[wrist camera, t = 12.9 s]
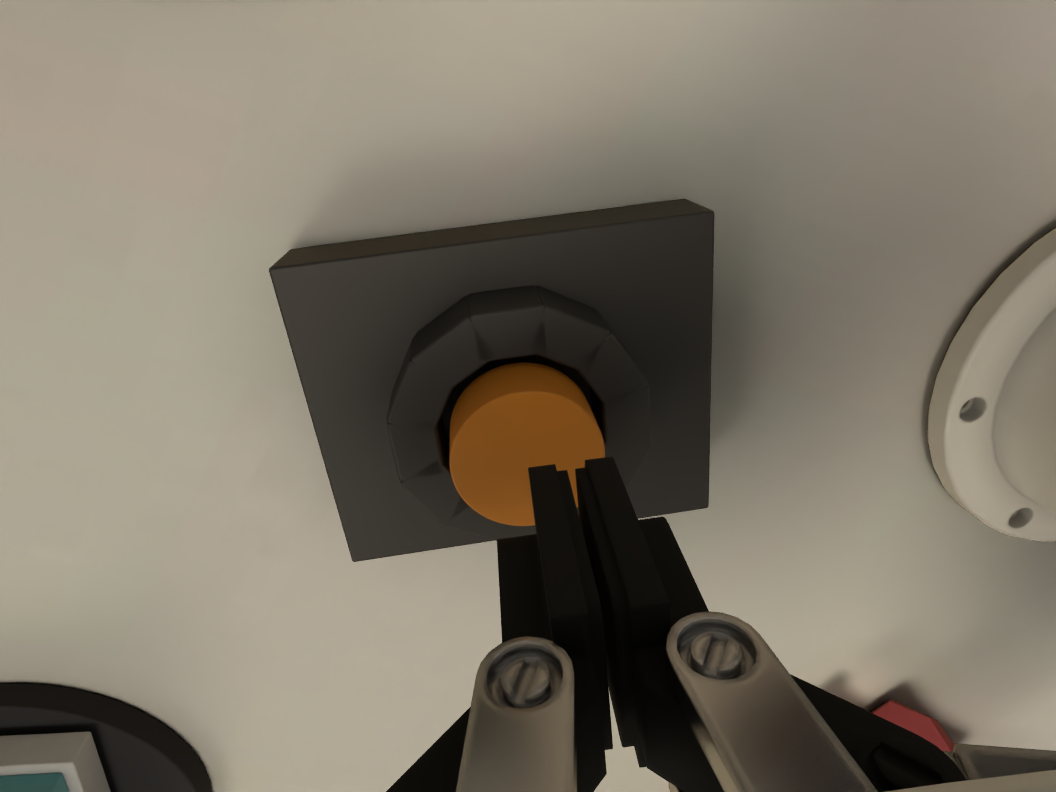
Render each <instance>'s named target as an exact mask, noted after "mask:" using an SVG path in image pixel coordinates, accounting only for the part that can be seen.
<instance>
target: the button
mask: <svg viewBox="0 0 1056 792" xmlns="http://www.w3.org/2000/svg"><path fill="white" fill-rule="evenodd" d="M604 457H605V446H604V440H603V437H602V434H601V431H600V429H599V427H598V424H597V422H596V420H595V418H594V415H593V413H592V411H591V408H590V406H589V404H588V402H587V400H586V397H585V395H584V394H583V392H582V391H581V389H580V388H579V387H578V385H577V384H576V383H575V382H574V381H573V380H572V379H570V378H569V377H568V376H567V375H565V374H563V373H562V372H560V371H558V370H556V369H554V368H552V367H549V366H546V365H542V364H537V363H526V362H521V363H511V364H506V365H502V366H499V367H496V368H494V369H491V370H489V371H487V372H485V373H484V374H482V375H481V376H479V377H477V378H476V379H475V380H474V381H473V382H471V383H470V384H469V385H468V386H467V388H466V389H465V390H464V391H463V392H462V394H461V395H460V397H459V398H458V400H457V402H456V404H455V406H454V409H453V412H452V416H451V421H450V459H449V465H450V473H451V477H452V481H453V483H454V485H455V488H456V490H457V491H458V493H459V495H460V496H461V498H462V499H463V500H464V501H465V502H466V503H467V504H468V505H469V506H470V507H471V508H472V509H473V510H474V511H476V512H477V513H479V514H480V515H482V516H484V517H486V518H488V519H490V520H493V521H495V522H498V523H502V524H506V525H514V526H532V525H535V520H534V512H533V504H532V496H531V489H530V481H529V472H528V468H529V467H536V466H544V465H551V464H555V465H556V469H557V471H562V470H567V472H568V475H569V479H570V483H571V487H572V491H573V495H574V499H575V503H576V507H578V499H577V487H576V476H575V469H577V468H584V467H585V460H589V459H596V458H604Z"/></svg>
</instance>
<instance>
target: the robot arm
mask: <svg viewBox="0 0 1056 792" xmlns="http://www.w3.org/2000/svg"><path fill="white" fill-rule="evenodd" d="M928 443H929V448H930V453H931V458H932V463H933V467H934V469H935V471H936V473H937V475H938V477H939V479H940V481H941V483H942V485H943V487H944V488H945V489H946V490H947V492H948V493H949V494H950V495H951V496H952V497H953V498H954V499H955V500H956V501H957V502H958V503H959V505H960V506H962V507H963V508H964V509H966V510H967V511H968V512H970V513H971V514H972V515H974V516H975V517H976V518H978V519H979V520H980V521H982V522H983V523H984V524H985V525H987V526H988V527H990V528H993V529H995V530H997V531H999V532H1001V533H1003V534H1005V535H1008V536H1013V537H1018V538H1023V539H1028V540H1033V541H1056V228H1055V229H1053V230H1052V231H1051V232H1049V233H1048V234H1046V235H1045V236H1043V237H1042V238H1041V239H1039V240H1038V241H1036V242H1035V243H1034V244H1033V245H1031V246H1030V247H1029V248H1028V249H1027V250H1026V251H1025V252H1024V253H1023V254H1022V255H1021V256H1020V257H1018V258H1017V259H1016V260H1015V261H1014V262H1013V263H1012V264H1011V265H1010V266H1009V267H1008V268H1006V269H1005V270H1004V271H1003V272H1002V273H1001V274H1000V275H999V277H998V278H997V279H996V280H995V281H994V283H993V284H992V285H991V286H990V287H989V289H988V290H987V291H986V292H985V293H984V295H983V296H982V297H981V298H980V299H979V301H978V302H977V303H976V304H975V305H974V307H973V308H972V310H971V311H970V313H969V314H968V316H967V318H966V319H965V321H964V322H963V324H962V326H961V327H960V329H959V330H958V332H957V334H956V335H955V337H954V338H953V340H952V342H951V344H950V346H949V349H948V351H947V353H946V356H945V358H944V360H943V363H942V365H941V367H940V370H939V372H938V374H937V377H936V381H935V385H934V389H933V393H932V398H931V402H930V406H929V416H928ZM528 472H529V481H530V489H531V496H532V504H533V512H534V520H535V528H536V534H532V535H525V536H517V537H510V538H503V539H498V540H497V548H498V568H499V587H500V607H501V626H502V643H501V644H500V645H498V646H497V647H495V648H494V649H493V650H491V651H490V652H489V653H488V654H487V656H486V657H485V658H484V659H483V661H482V662H481V664H480V666H479V669H478V672H477V675H476V680H475V685H474V691H473V697H472V702H471V707H470V708H469V709H468V710H467V711H466V712H465V713H464V714H463V715H462V716H461V717H460V718H459V719H458V720H457V721H456V722H455V723H454V724H453V725H452V726H451V727H450V728H449V729H448V730H447V731H446V732H445V733H444V734H443V735H442V736H441V737H440V738H439V739H438V740H437V741H436V742H435V743H434V744H433V745H432V746H431V747H430V748H429V749H428V750H427V751H426V752H425V753H424V754H423V755H422V756H421V757H420V758H419V759H418V760H417V761H416V762H415V763H414V764H413V765H412V766H411V767H410V768H409V769H408V770H407V771H406V772H405V773H404V774H403V775H402V776H401V777H400V778H399V779H398V780H397V781H396V782H395V783H394V784H393V785H392V786H391V787H390V788H389V789H388V790H387V791H386V792H594V790H595V789H596V787H597V786H598V785H599V783H600V782H601V781H602V779H603V778H604V776H605V775H606V774H607V773H606V761H605V750H608V749H613V743H612V730H611V717H610V703H609V692H610V696H611V700H612V705H613V709H614V714H615V718H616V722H617V727H618V731H619V735H620V740H621V743H622V746H623V747H629V746H634V747H635V751H636V755H637V759H638V763H639V767H647V768H648V769H650V770H651V771H653V772H654V773H656V774H657V775H659V776H660V777H662V778H663V779H665V780H667V781H668V782H669V789H670V792H1056V751H1049V750H1035V749H1022V748H1008V747H995V746H982V745H968V744H955V746H954V750H953V752H951V751H942V750H941V749H939V748H938V747H937V746H936V745H934V744H933V743H931V742H929V741H927V740H926V739H924V738H922V737H921V736H919V735H917V734H915V733H913V732H911V731H909V730H907V729H905V728H903V727H900V726H898V725H896V724H894V723H892V722H890V721H888V720H886V719H884V718H881V717H879V716H877V715H875V714H873V713H871V712H869V711H867V710H865V709H862V708H860V707H858V706H856V705H854V704H852V703H850V702H848V701H845V700H843V699H841V698H839V697H837V696H835V695H833V694H831V693H829V692H826V691H824V690H822V689H820V688H818V687H816V686H814V685H812V684H810V683H807V682H805V681H803V680H801V679H799V678H797V677H795V676H793V675H791V674H789V673H788V671H787V670H786V669H785V667H784V666H783V665H782V663H781V662H780V661H779V659H778V658H777V657H776V655H775V654H774V653H773V651H772V650H771V649H770V647H769V646H768V645H767V643H766V642H765V641H764V639H763V638H762V637H761V635H760V634H759V633H758V632H757V631H756V630H755V629H754V628H753V627H752V626H751V625H749V624H748V623H746V622H744V621H742V620H741V619H739V618H737V617H734V616H731V615H728V614H725V613H720V612H709V611H708V609H707V606H706V604H705V602H704V600H703V598H702V596H701V593H700V591H699V589H698V587H697V585H696V583H695V580H694V578H693V576H692V574H691V572H690V570H689V567H688V565H687V563H686V561H685V559H684V556H683V554H682V552H681V550H680V548H679V546H678V543H677V541H676V539H675V537H674V535H673V533H672V530H671V528H670V526H669V524H668V522H667V520H666V519H665V518H664V517H658V518H650V519H643V520H638V519H637V516H636V514H635V511H634V508H633V506H632V503H631V501H630V498H629V496H628V493H627V491H626V488H625V485H624V483H623V480H622V478H621V475H620V473H619V470H618V468H617V465H616V462H615V460H614V458H613V457H604V458H596V459H589V460H585V467H584V468H577V469H575V476H576V487H577V499H578V510H579V515H578V511H577V507H576V503H575V499H574V495H573V491H572V487H571V483H570V479H569V475H568V472H567V470H562V471H557V469H556V465H555V464H551V465H544V466H536V467H529V468H528ZM608 687H609V690H608Z"/></svg>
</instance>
